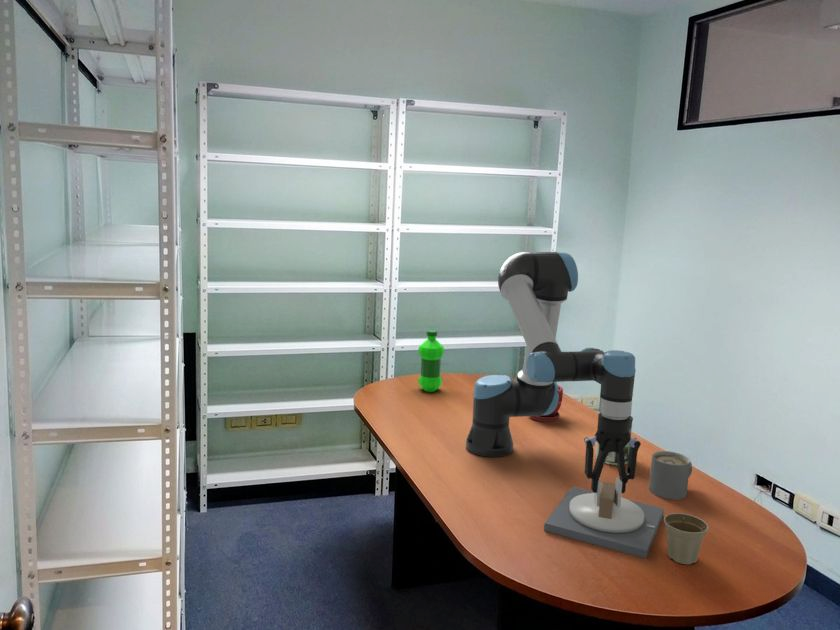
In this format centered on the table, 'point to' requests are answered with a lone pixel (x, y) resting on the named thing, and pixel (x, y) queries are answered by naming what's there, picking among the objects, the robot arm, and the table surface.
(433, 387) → the plastic bottle
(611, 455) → the coffee can
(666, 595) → the table surface
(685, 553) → the flower pot
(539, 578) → the table surface
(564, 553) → the table surface
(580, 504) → the dial
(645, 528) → the base plate
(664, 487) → the coffee mug
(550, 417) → the plant pot
